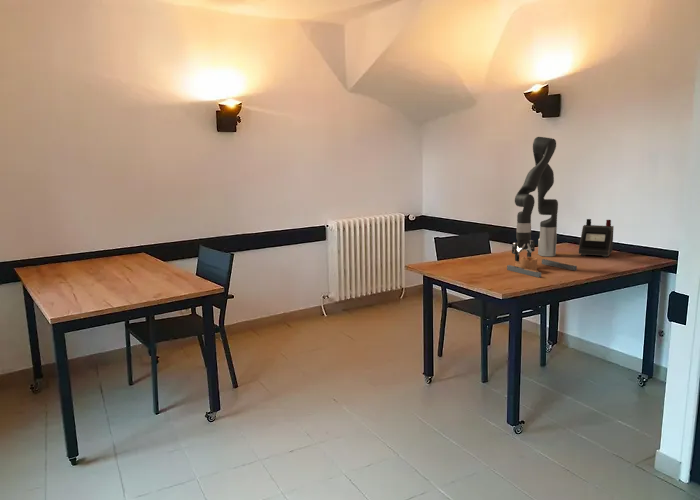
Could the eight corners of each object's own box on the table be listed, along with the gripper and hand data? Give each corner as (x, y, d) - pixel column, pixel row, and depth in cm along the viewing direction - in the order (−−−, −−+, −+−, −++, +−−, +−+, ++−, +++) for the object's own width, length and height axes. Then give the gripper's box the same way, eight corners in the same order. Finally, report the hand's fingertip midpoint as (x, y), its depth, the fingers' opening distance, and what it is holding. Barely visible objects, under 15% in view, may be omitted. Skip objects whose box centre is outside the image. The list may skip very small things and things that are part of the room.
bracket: (539, 272, 285) (539, 259, 284) (522, 273, 285) (523, 260, 284) (528, 265, 303) (529, 253, 301) (513, 266, 303) (513, 253, 302)
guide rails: (506, 269, 293) (507, 264, 293) (543, 263, 306) (543, 258, 305) (538, 277, 274) (539, 272, 273) (576, 270, 286) (576, 265, 286)
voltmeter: (578, 256, 322) (579, 222, 319) (583, 251, 336) (584, 218, 333) (608, 258, 314) (610, 223, 310) (612, 253, 328) (613, 219, 324)
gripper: (528, 229, 304) (527, 257, 307) (508, 231, 297) (508, 261, 300) (538, 230, 297) (537, 260, 300) (519, 233, 291) (518, 263, 294)
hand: (523, 260), depth 300 cm, fingers open, 8 cm apart
